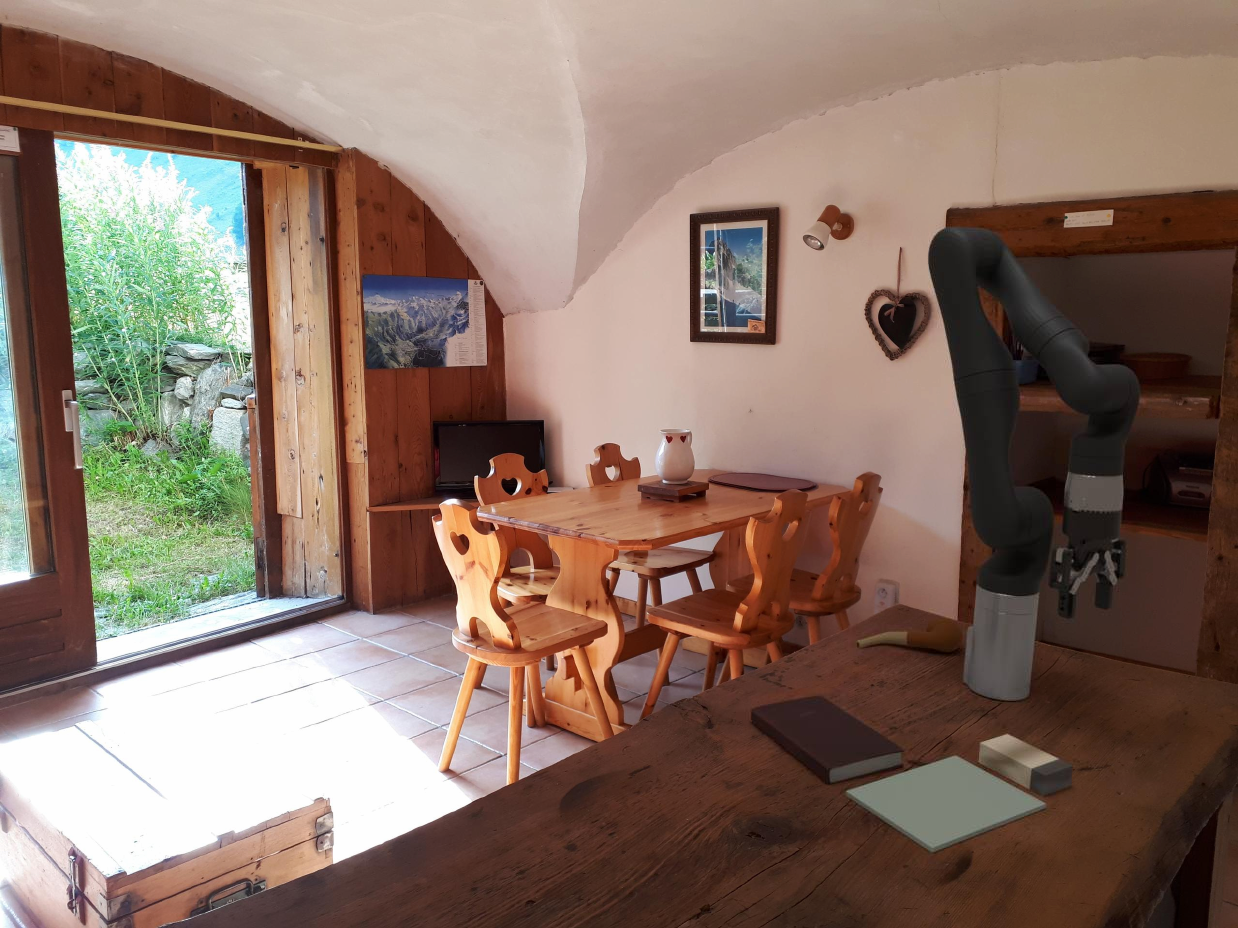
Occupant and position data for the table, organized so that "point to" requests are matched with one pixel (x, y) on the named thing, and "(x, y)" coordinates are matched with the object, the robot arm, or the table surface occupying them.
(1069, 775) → the cream rectangular block
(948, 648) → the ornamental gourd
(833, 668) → the table surface
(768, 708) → the book
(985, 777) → the rubber mat
